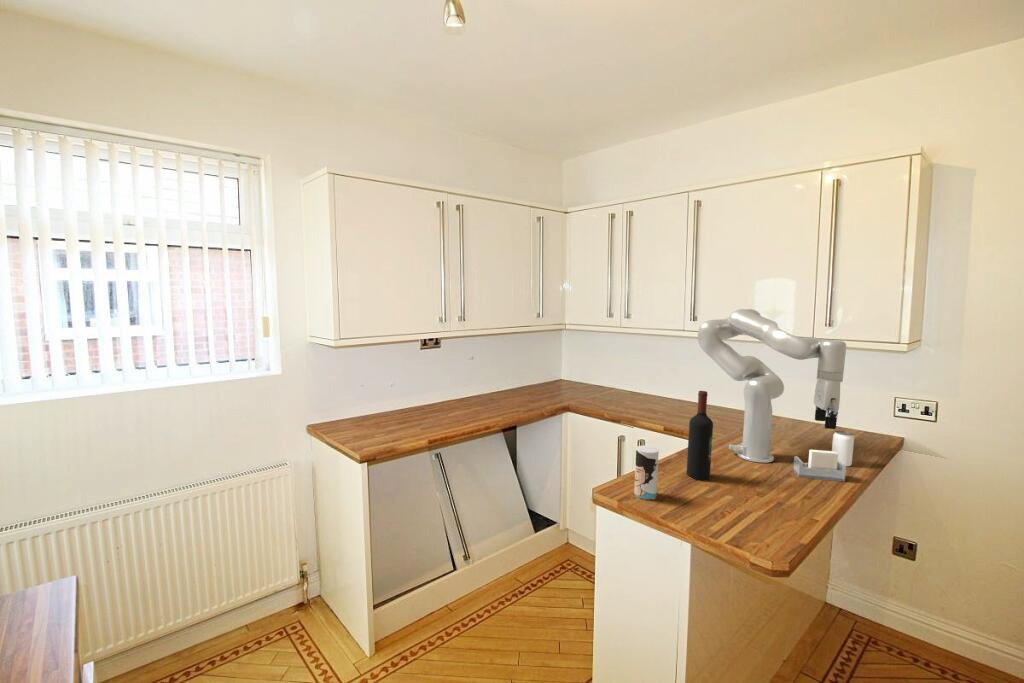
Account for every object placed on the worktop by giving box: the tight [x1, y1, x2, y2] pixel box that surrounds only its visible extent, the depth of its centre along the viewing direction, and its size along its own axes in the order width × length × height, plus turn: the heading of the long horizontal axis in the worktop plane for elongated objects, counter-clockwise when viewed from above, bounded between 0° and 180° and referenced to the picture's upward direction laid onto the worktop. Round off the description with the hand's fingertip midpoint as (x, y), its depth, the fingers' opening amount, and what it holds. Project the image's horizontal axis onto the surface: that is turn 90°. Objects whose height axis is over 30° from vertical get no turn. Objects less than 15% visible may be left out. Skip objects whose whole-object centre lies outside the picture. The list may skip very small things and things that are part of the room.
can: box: [831, 430, 855, 468], centre depth 179 cm, size 6×6×12 cm
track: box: [792, 455, 847, 483], centre depth 167 cm, size 14×6×6 cm, turn 75°
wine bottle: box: [686, 390, 714, 481], centre depth 164 cm, size 8×8×30 cm
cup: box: [633, 445, 659, 499], centre depth 149 cm, size 7×7×15 cm
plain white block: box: [807, 449, 838, 470], centre depth 166 cm, size 8×3×8 cm, turn 76°
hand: (824, 424), depth 166 cm, fingers open, 9 cm apart
